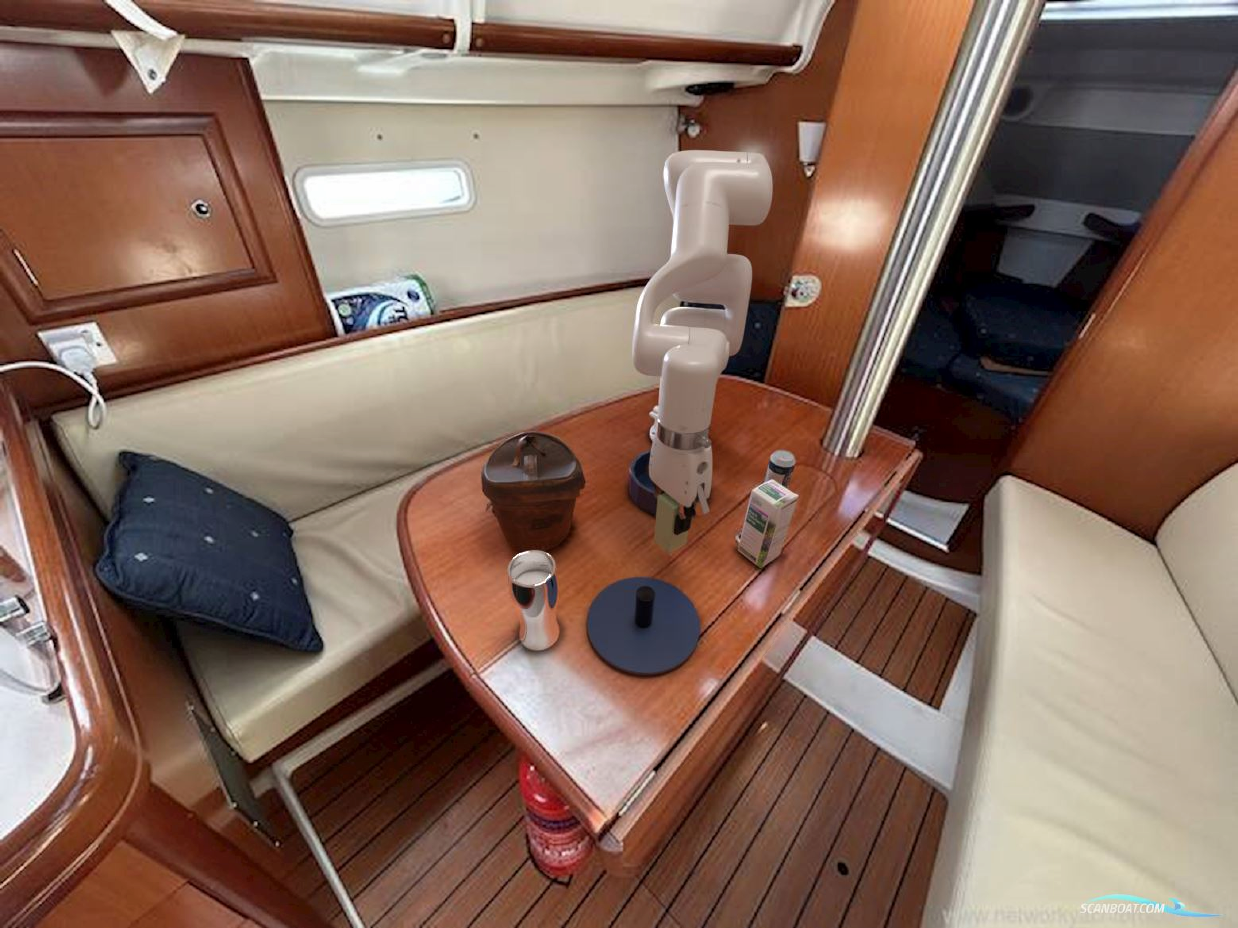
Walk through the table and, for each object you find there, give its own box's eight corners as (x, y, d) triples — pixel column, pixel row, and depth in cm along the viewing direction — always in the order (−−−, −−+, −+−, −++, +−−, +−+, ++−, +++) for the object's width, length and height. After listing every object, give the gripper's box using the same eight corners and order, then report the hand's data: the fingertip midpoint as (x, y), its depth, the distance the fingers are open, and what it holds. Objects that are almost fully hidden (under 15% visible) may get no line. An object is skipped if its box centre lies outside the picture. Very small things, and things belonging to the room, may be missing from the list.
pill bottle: (783, 512, 101) (797, 464, 94) (759, 508, 102) (771, 460, 95) (782, 497, 105) (795, 450, 98) (759, 493, 106) (770, 446, 99)
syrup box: (735, 550, 92) (749, 489, 84) (757, 537, 95) (772, 476, 87) (760, 569, 89) (777, 508, 80) (781, 555, 92) (800, 494, 83)
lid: (565, 613, 80) (563, 581, 76) (651, 566, 89) (654, 534, 84) (632, 700, 69) (634, 669, 65) (722, 636, 78) (730, 605, 73)
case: (542, 483, 107) (536, 410, 96) (606, 531, 96) (607, 455, 85) (468, 522, 97) (451, 446, 86) (530, 581, 85) (520, 502, 75)
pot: (613, 484, 107) (613, 464, 104) (672, 458, 115) (675, 439, 112) (663, 529, 96) (665, 508, 93) (725, 497, 105) (729, 476, 101)
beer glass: (518, 615, 80) (508, 549, 71) (562, 613, 80) (557, 547, 72) (514, 655, 74) (503, 588, 65) (562, 652, 75) (557, 586, 66)
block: (653, 540, 87) (657, 495, 81) (671, 530, 89) (676, 487, 83) (668, 553, 85) (674, 509, 79) (686, 544, 87) (692, 499, 81)
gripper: (743, 449, 70) (724, 543, 81) (665, 400, 81) (657, 489, 91) (704, 467, 66) (689, 563, 77) (628, 413, 77) (624, 504, 88)
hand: (672, 522), depth 84 cm, fingers closed on block, 4 cm apart
